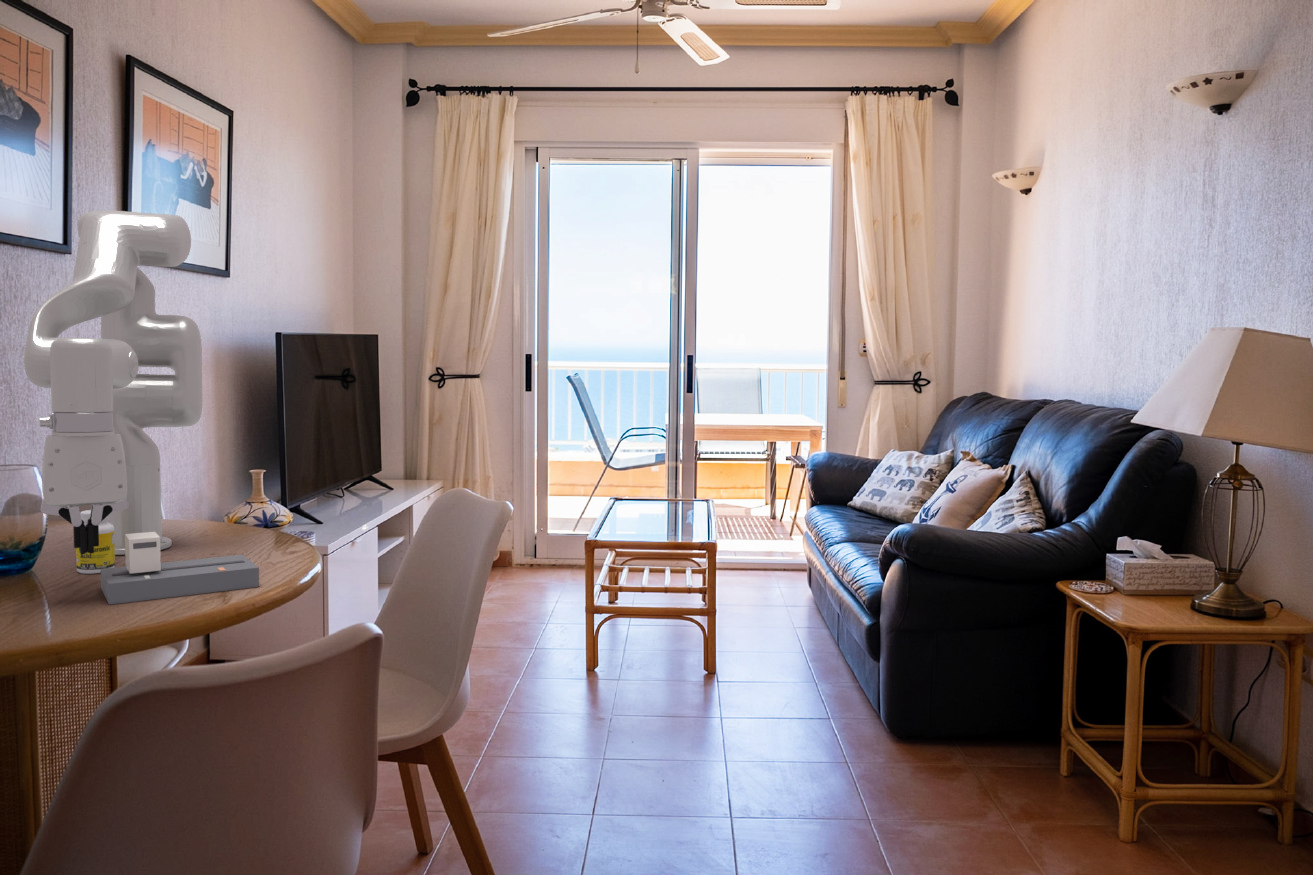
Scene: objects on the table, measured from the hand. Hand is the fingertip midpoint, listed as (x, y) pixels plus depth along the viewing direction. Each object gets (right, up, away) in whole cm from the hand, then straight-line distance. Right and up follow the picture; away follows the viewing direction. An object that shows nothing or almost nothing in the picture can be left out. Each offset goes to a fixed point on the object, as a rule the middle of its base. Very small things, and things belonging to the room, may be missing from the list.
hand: (86, 552), depth 133 cm
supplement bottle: (-9, -6, +18) cm, 21 cm away
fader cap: (+5, -3, +5) cm, 8 cm away
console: (+9, -6, +8) cm, 14 cm away
